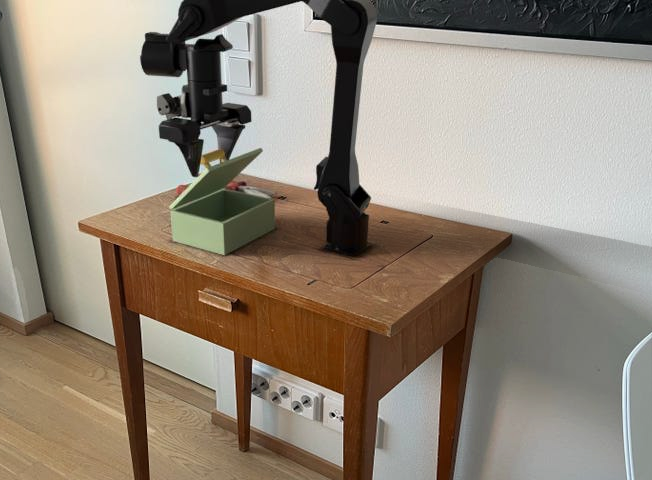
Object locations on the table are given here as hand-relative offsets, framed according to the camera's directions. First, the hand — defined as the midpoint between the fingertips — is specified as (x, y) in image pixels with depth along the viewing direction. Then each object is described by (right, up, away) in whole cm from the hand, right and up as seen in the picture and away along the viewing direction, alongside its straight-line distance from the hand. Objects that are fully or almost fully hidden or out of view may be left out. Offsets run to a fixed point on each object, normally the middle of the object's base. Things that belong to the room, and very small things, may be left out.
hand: (209, 171), depth 130 cm
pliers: (0, +1, +23) cm, 23 cm away
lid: (+1, -2, 0) cm, 2 cm away
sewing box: (+2, -11, +4) cm, 12 cm away
